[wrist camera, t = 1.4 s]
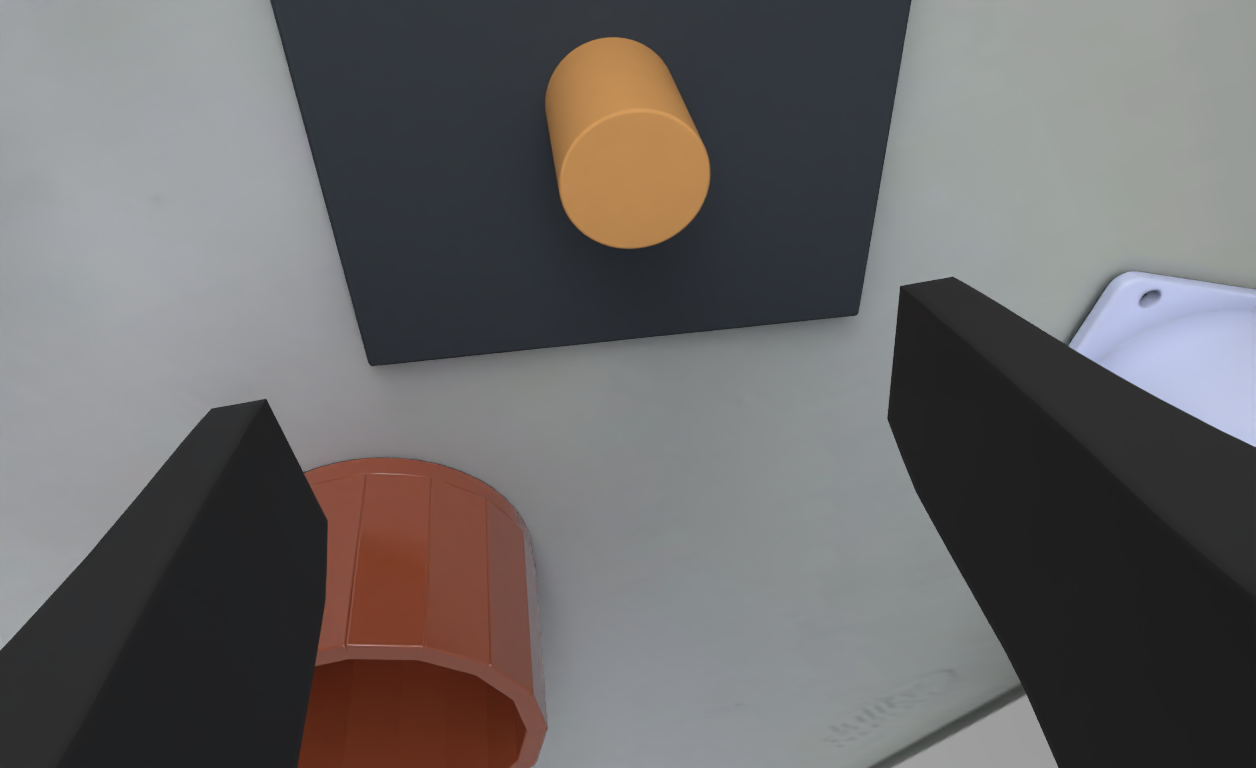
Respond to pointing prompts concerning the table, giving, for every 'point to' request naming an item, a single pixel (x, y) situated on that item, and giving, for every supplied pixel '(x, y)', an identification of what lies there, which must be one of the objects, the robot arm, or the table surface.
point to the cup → (424, 623)
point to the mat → (499, 185)
